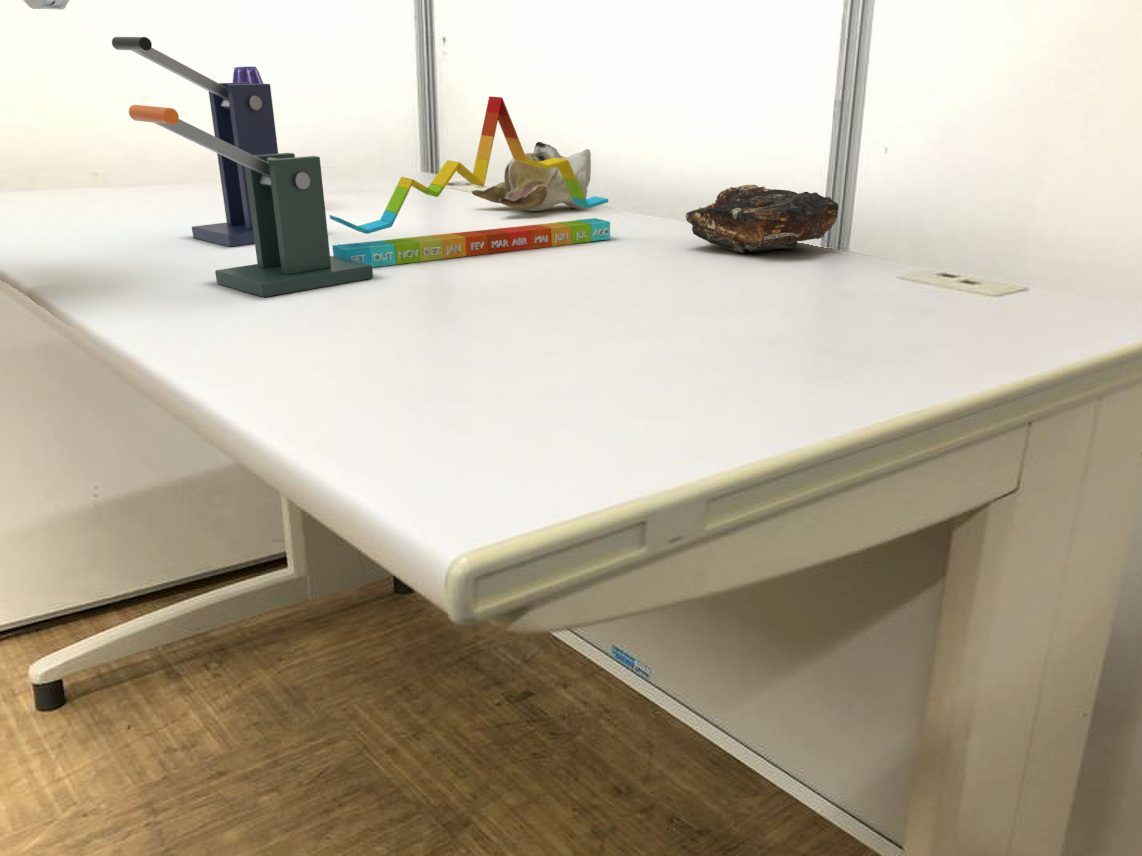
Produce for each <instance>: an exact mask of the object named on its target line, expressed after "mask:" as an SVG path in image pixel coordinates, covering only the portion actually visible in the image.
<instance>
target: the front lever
mask: <svg viewBox="0 0 1142 856" xmlns="http://www.w3.org/2000/svg"><path fill="white" fill-rule="evenodd" d="M128 115H129V117H130V118H131V120H133V121H137V122H145V123H153V124H156V125H157V126H160V127H162V128H163V129H166V130H168V131H170V132H171V133H174V134H176V135H178V136H180V137H182V138H184V139H187V140H189V141H190V142H193V143H195V144H198V145H199V146H202V147H203V148H205V149H208V150H210V151H212V152H214V153H216V154H217V153H218V154H220V155H222V156H224V157H226V158H228V159H231V160H233V161H235V162H237V163H239V164H241V165H243V166H245V167H247V168H249V169H251V170H254V171H256V172H258V173H260V174H262V178H261V181H260V184H262V185H264V186H266V187H268V188H271V179H270V171H269V163H268V160H269V159H277V158H270V157H268V160H267V162H266V161H264V160H262V159H260V158H258V157H255V156H253V155H251V154H249V153H247V152H245V151H243V150H241V149H239V148H237V147H235V146H233V145H231V144H229V143H227V142H225V141H223V140H221V139H219V138H217V137H215V135H213V134H210V133H209V132H206V131H204V130H202V129H201V128H198V127H196V126H195V125H192V124H190V123H189V122H186V121H185V120H182V119H180V115H179V113H178V111H177V110H176V109H174V108H172V107H164V106H155V105H154V106H153V105H143V104H132V105H131V106H130V107H129V108H128ZM271 189H272V188H271Z"/></svg>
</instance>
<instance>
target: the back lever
mask: <svg viewBox="0 0 1142 856" xmlns="http://www.w3.org/2000/svg"><path fill="white" fill-rule="evenodd" d="M111 45H112V47H113V48H114V49H115V50H117V51H131V52H134V53H135V54H137V55H139V56H140V57H142V58H144V59H146V60H148V61H150V62H153V63H154V64H156V65H158V66H160V67H162V68H164V69H165V70H167V71H169V72H171V73H173V74H175V75H177V76H179V77H181V78H182V79H185V80H186V81H188V82H191V83H193V84H194V85H196V86H198V87H200V88H202V89H203V90H206V91H207V92H208V93H209V92H211V93H213V94H215V95H217V96H219V97H221V98H223V101H222V104H221V106H222V107H224V108H226V109H227V110H229V111H230V106H229V98H228V91H227V88H226V87H224V86H223V85H221V84H219V83H220V82H217V81H215V80H213V79H212V78H210V77H207V76H206V75H204V74H202V73H201V72H198V71H196V70H195V69H193V68H192V67H189V66H187V65H186V64H183V63H182V62H180V61H178V60H176V59H174V58H172V57H170V56H169V55H167V54H165V53H163V52H161V51H159V50H158V49H156V48H154V47H152V46H153V44H152V41H151V39H149V38H148V37H147V36H114V37H112V39H111Z"/></svg>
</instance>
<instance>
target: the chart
mask: <svg viewBox="0 0 1142 856" xmlns="http://www.w3.org/2000/svg"><path fill="white" fill-rule="evenodd" d="M482 124H483V125H482V128H481V134H480V137H479V142H478V147H477V152H476V157H475V161H474V166H473V170H472V172H471V170H469V169H468V168H467V167H465V165H464V164H462V163H461V162H460V161H456V160H455V161H454V160H449V159H447V160H446V161H445V162H444V164H443V165H442V167H441V168H440V169H439V171H438V172H437V174H436V175H435V177H434V178H433V180H432V181H431V182H430V184H429V185H428V187H427V186H425V185H424V184H422V183H420V182H418V181H417V180H415V179H413V178H409V177H404V176H401V177H400V178H399V180H398V183H397V184H396V187H395V188H394V191H393V193H392V195H391V196H390V199H389V200H388V202H387V205H386V207H385V209H384V211H383V213H382V214H381V217H380V219H378V220H374V221H370V222H367V223H364V224H359V225H356V224H354V223H352V222H349V221H347V220H345V219H342V218H340V217H338V216H334V215H331V214H329V219H330V220H332V221H333V222H336V223H339V224H341V225H343V226H346V227H347V228H350V229H352V230H354V231H357V232H360V233H363V234H366V235H369V234H373V233H375V232H379V231H383V230H387V229H390V228H392V227H393V225H394V223H395V221H396V219H397V217H398V215H399V213H400V212H401V209H402V207H403V205H404V203H405V201H406V199H407V197H408V194H409V193H410V190H411V188H413V189H416V190H417V191H419V192H421V193H423V194H425V195H427V196H431V197H434V198H438V197H440V196H441V193H442V192H443V190H444V189H445V187H447V185H448V184H449V182H450V181H451V180H452V178H453V176H454V175H455V173H458V174H459V175H460V176H461V177H462V178H464V179H465V180H466V181H467V182H468V183H469V184H471V185H475V186H479V187H485V183H486V179H487V178H486V177H487V174H488V169H489V164H490V160H491V156H492V150H493V146H494V142H495V136H496V132H497V126H498V124H499V126H500V129H501V131H502V133H503V136H504V138H505V141H506V143H507V146H508V149H509V151H510V153H511V156H512V158H513V159H514V160H517V161H520V162H523V163H526V164H528V165H531V166H534V167H540V168H545V169H550V168H553V167H558V169H559V171H560V173H561V175H562V177H563V180H564V182H565V184H566V186H567V188H568V190H569V192H570V195H571V197H572V199H573V201H574V203H575V205H577V206H581V208H587V209H591V208H594V207H597V206H601V205H604V204H607V203H609V198H605V197H601V196H596V195H594V196H591V197H586V198H585V196H584V193H583V191H582V189H581V187H580V185H579V183H578V180H577V178H576V176H575V174H574V172H573V170H572V167H571V165H570V163H569V161H568V160H567V159H561V158H551V159H548V160H544V161H541V162H537V161H534V160H531V159H528V158H526V156H525V153H526V152H525V150H524V148H523V145H522V143H521V141H520V138H519V136H518V133H517V131H516V128H515V126H514V123H513V121H512V118H511V115H510V113H509V110H508V108H507V106H506V103H505V100H504V99H503V97H502V96H489V97H488V100H487V105H486V109H485V114H484V119H483V123H482ZM605 240H611V221H609V220H605V219H601V218H597V217H594V218H593V217H591V218H583V219H575V220H565V221H556V222H549V223H547V222H546V223H539V224H538V223H537V224H530V225H529V224H528V225H520V226H519V225H518V226H508V227H498V228H491V229H490V228H488V229H480V230H479V229H478V230H472V231H471V230H470V231H469V230H468V231H459V232H450V233H441V234H440V233H439V234H431V235H430V234H429V235H421V236H419V235H418V236H412V237H409V236H408V237H401V238H400V237H399V238H391V239H390V238H389V239H383V240H370V241H362V242H352V243H342V244H332V256H333V257H338V258H342V259H347V260H351V261H355V262H360V263H364V264H368V265H372V268H376V267H386V266H393V265H403V264H410V263H419V262H428V261H436V260H437V261H438V260H445V259H447V260H448V259H455V258H462V257H471V256H479V255H490V254H497V253H505V252H515V251H523V250H532V249H533V250H534V249H540V248H548V247H557V246H566V245H572V244H580V243H590V242H596V241H597V242H598V241H605Z"/></svg>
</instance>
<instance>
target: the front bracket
mask: <svg viewBox="0 0 1142 856" xmlns="http://www.w3.org/2000/svg"><path fill="white" fill-rule="evenodd" d="M253 156H255V157H258V158H260V159H262V160H264V161H266V162H267V160H268V157H270V158H277V159H269V160H268V163H269V171H270V179H271V188H272V189H271V188H268V187H266V186H264V185H262V184H260V181H261V178H262V174H260V173H258V172H256V171H254V170H251V169H249V168H247V167H245V171H246V179H247V187H248V194H249V202H250V210H251V217H252V225H253V233H254V240H255V243H254V247H255V248H254V249H255V255H256V262H257V263H255V264H248V265H241V266H235V267H234V266H233V267H228V268H222V269H216V270H215V271H214V273H215V281H216V284H218V285H221V286H225V287H228V288H231V289H235V290H238V291H242V292H245V293H248V294H252V295H255V296H259V297H262V298H267V297H268V298H269V297H274V296H279V295H285V294H292V293H296V292H302V291H303V292H304V291H308V290H314V289H320V288H325V287H330V286H336V285H342V284H347V283H354V282H359V281H364V280H370V279H373V278H374V273H373V271H374V270H373V267H372V265H368V264H364V263H360V262H355V261H351V260H347V259H342V258H338V257H334V256H333V255H331V253H330V243H329V235H328V223H327V214H326V203H325V194H324V186H323V175H322V167H321V165H322V164H321V157H320V156H317V155H309V156H297V157H296V156H295V153H293V152H281V153H280V152H278V154H265V155H253Z"/></svg>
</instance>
